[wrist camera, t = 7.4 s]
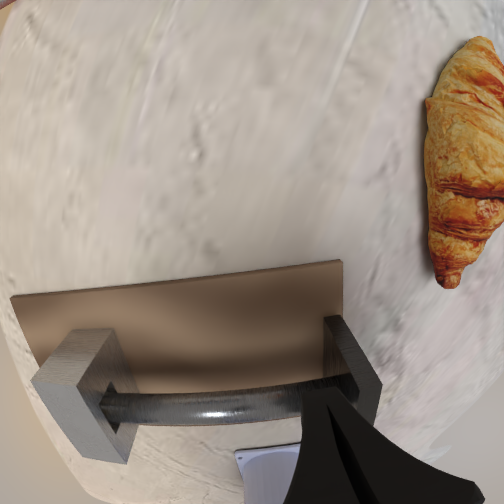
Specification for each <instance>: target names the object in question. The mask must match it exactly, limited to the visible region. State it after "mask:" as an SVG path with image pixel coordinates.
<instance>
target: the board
mask: <svg viewBox="0 0 504 504" xmlns="http://www.w3.org/2000/svg"><path fill="white" fill-rule="evenodd" d="M10 301H11V304H12V306H13V309H14V312H15V314H16V317H17V319H18V322H19V324H20V327H21V329H22V331H23V334H24V336H25V338H26V340H27V343H28V345H29V347H30V349H31V351H32V353H33V355H34V357H35V359H36V361H37V363H38V365H39V367H41V366H42V365H43V364H44V362H45V361H46V360H47V359H48V358H49V356H50V355H51V354H52V353H53V351H54V350H55V349H56V348H57V347H58V346H59V344H60V343H61V342H62V341H63V340H64V338H65V337H66V336H67V335H68V334H69V333H70V331H71V330H72V329H93V328H114V329H115V332H116V335H117V338H118V340H119V343H120V346H121V348H122V351H123V353H124V356H125V358H126V361H127V363H128V366H129V368H130V371H131V373H132V375H133V378H134V380H135V382H136V385H137V387H138V389H139V391H140V393H196V392H214V391H228V390H239V389H249V388H259V387H267V386H275V385H282V384H289V383H295V382H302V381H308V380H313V379H319V378H323V317H327V316H333V315H339V314H340V315H341V317H342V318H343V262H342V261H341V260H340V259H339V260H331V261H324V262H317V263H309V264H302V265H294V266H287V267H279V268H271V269H263V270H255V271H247V272H239V273H231V274H223V275H214V276H206V277H197V278H188V279H180V280H171V281H162V282H152V283H143V284H134V285H124V286H114V287H104V288H94V289H84V290H73V291H62V292H51V293H40V294H28V295H16V296H12V297H11V298H10ZM300 416H301V415H300ZM300 416H294V417H300ZM287 418H293V417H287ZM287 418H280V419H287ZM272 420H279V419H272ZM272 420H264V421H272ZM255 422H263V421H255ZM244 423H254V422H244ZM231 424H243V423H231ZM139 425H147V424H139ZM214 425H230V424H214ZM150 426H212V425H150Z"/></svg>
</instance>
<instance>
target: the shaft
mask: <svg viewBox="0 0 504 504" xmlns="http://www.w3.org/2000/svg"><path fill="white" fill-rule="evenodd" d="M382 385H383V384H382V383H381V381H380V379H379V378H378V376H377V374H376V372H375V371H374V369H373V367H372V366H371V364H370V362H369V361H368V359H367V357H366V356H365V354H364V352H363V351H362V349H361V347H360V346H359V344H358V342H357V341H356V339H355V338H354V336H353V334H352V333H351V331H350V329H349V328H348V326H347V325H346V323H345V321H344V320H343V318H342V317H341V315H340V314H339V315H333V316H327V317H323V378H319V379H313V380H308V381H302V382H295V383H289V384H282V385H275V386H267V387H259V388H249V389H239V390H228V391H214V392H196V393H118V392H105V393H104V395H103V397H102V399H101V401H100V403H99V405H98V406H99V408H100V409H101V411H102V413H103V414H104V416H105V418H106V419H107V421H108V422H118V423H130V424H147V425H214V424H231V423H244V422H255V421H264V420H272V419H280V418H287V417H294V416H300V415H301V394H302V393H303V392H307V391H313V390H318V389H323V388H329V387H334V386H336V387H338V388H339V390H340V391H341V392H342V394H343V395H344V396H345V397H346V398H347V400H348V401H349V402H350V403H351V404H352V405H353V406H354V408H355V409H356V410H357V411H358V412H359V413H360V414H361V415H362V416H363V417H364V418H365V419H366V420H367V421H368V422H369V423H370V424H371V425H372V426H373V425H374V421H375V417H376V413H377V408H378V404H379V399H380V395H381V390H382Z"/></svg>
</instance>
